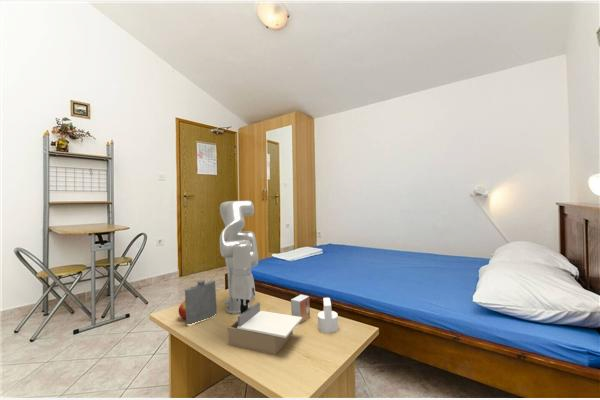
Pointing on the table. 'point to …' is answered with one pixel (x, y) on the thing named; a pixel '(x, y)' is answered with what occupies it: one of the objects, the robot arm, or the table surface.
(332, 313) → the base with upright slab
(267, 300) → the table surface
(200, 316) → the grey flat upright block
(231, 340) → the tray
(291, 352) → the table surface
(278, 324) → the lid
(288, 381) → the table surface
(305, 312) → the small box
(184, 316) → the apple
